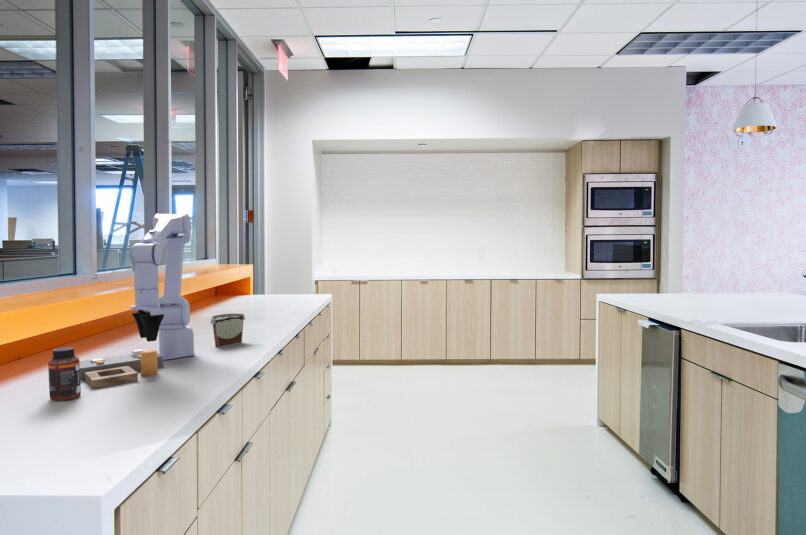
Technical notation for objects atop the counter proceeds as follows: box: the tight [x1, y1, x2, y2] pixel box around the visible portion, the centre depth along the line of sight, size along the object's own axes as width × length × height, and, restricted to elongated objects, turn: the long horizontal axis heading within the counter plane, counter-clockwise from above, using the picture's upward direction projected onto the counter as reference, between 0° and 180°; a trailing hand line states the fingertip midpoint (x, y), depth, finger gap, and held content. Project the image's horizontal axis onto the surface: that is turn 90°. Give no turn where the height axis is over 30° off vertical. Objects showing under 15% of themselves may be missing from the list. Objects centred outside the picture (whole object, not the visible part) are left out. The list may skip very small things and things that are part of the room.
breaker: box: [131, 348, 145, 358], centre depth 142 cm, size 2×2×2 cm
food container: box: [210, 313, 246, 349], centre depth 172 cm, size 12×6×10 cm, turn 145°
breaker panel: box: [79, 352, 164, 381], centre depth 138 cm, size 20×9×4 cm, turn 131°
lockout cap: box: [140, 349, 159, 377], centre depth 134 cm, size 4×4×6 cm
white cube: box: [91, 357, 104, 363], centre depth 136 cm, size 2×2×2 cm
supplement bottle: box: [47, 346, 82, 402], centre depth 114 cm, size 6×6×11 cm
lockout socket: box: [84, 366, 139, 389], centre depth 128 cm, size 10×10×2 cm
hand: (148, 339), depth 134 cm, fingers open, 6 cm apart
